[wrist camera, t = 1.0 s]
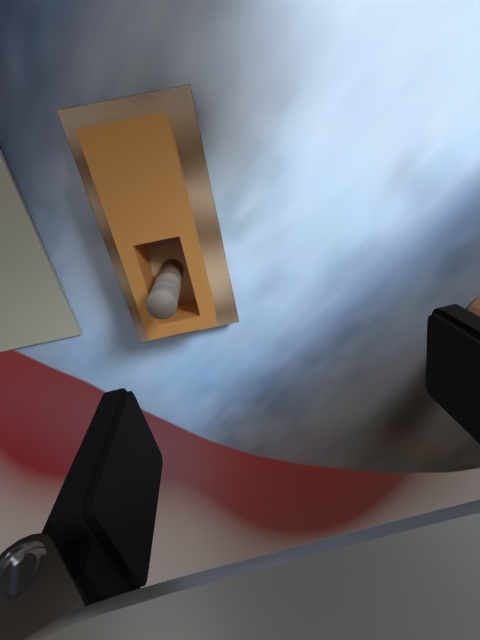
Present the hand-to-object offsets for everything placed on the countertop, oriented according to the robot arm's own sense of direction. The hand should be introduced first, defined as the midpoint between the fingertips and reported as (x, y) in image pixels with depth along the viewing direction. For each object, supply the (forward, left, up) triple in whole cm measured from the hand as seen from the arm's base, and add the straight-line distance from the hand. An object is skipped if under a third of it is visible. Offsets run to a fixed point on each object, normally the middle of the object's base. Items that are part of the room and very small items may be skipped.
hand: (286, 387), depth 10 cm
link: (-2, -6, -21) cm, 22 cm away
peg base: (+1, -6, -23) cm, 24 cm away
